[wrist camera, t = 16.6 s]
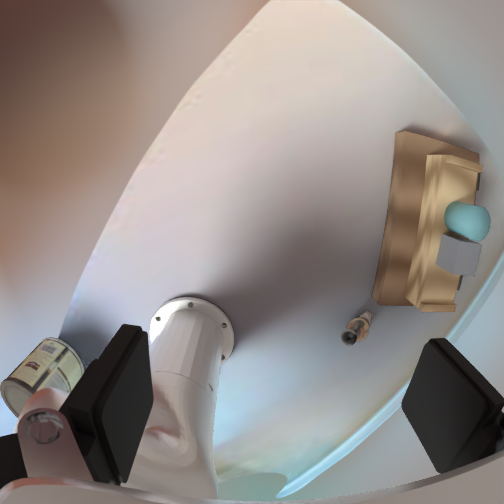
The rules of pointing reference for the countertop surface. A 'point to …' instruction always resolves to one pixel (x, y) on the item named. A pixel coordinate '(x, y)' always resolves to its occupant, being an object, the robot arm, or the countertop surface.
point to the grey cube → (458, 255)
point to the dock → (407, 212)
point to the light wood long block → (438, 231)
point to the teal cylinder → (467, 220)
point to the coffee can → (42, 373)
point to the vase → (356, 329)
